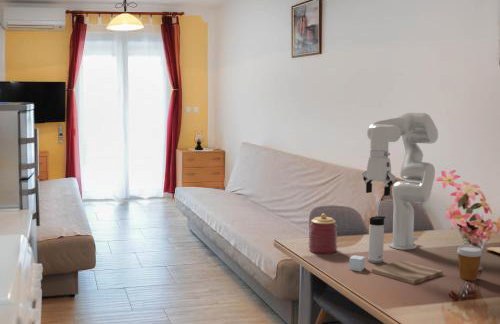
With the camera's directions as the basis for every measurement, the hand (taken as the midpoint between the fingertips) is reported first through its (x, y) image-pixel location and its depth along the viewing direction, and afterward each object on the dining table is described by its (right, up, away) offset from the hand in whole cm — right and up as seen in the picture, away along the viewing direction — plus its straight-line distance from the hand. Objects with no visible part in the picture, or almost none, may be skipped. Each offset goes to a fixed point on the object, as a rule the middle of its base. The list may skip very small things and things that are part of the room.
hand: (377, 194), depth 255 cm
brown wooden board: (+9, -32, -13) cm, 36 cm away
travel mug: (0, -30, +4) cm, 30 cm away
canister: (-21, -28, +21) cm, 41 cm away
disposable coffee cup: (+32, -33, -19) cm, 50 cm away
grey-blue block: (-10, -31, -7) cm, 33 cm away
